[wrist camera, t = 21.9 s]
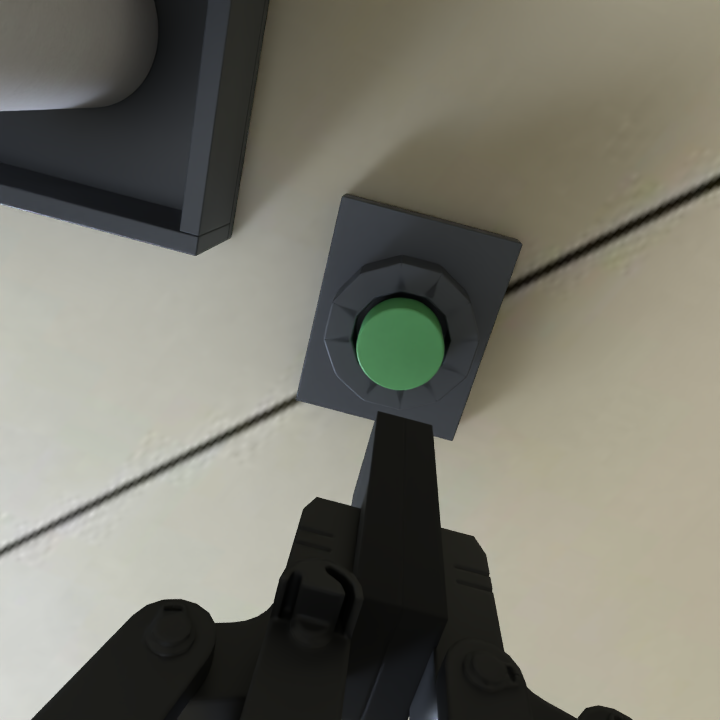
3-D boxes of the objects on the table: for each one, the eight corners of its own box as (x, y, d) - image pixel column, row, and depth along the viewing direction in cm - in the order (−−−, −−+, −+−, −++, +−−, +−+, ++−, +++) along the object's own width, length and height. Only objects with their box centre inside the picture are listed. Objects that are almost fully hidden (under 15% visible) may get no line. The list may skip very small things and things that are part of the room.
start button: (371, 287, 24) (368, 297, 22) (453, 308, 24) (455, 321, 22) (351, 363, 25) (347, 378, 24) (428, 384, 25) (430, 400, 24)
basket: (-91, -251, 21) (-221, -353, 16) (293, -146, 21) (262, -222, 17) (-74, 157, 26) (-169, 160, 22) (231, 238, 26) (196, 256, 22)
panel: (345, 193, 25) (336, 199, 22) (518, 239, 25) (531, 251, 22) (299, 390, 29) (287, 416, 26) (451, 430, 29) (455, 460, 26)
